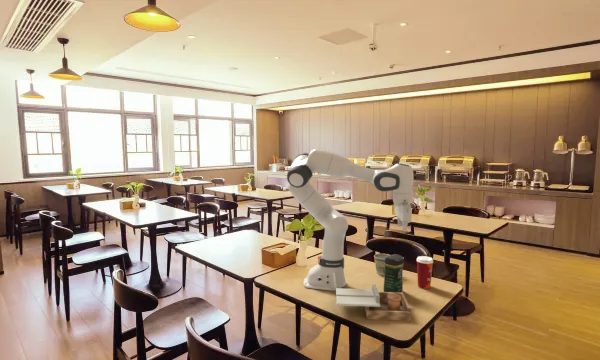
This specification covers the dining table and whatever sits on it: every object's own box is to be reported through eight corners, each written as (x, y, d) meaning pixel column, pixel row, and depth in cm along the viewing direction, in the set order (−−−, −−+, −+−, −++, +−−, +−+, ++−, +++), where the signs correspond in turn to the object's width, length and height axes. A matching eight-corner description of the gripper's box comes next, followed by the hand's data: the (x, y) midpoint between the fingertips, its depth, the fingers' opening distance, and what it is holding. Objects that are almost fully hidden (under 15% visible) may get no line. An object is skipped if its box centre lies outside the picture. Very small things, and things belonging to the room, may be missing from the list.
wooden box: (366, 318, 142) (366, 307, 142) (363, 301, 158) (363, 291, 157) (410, 320, 140) (411, 309, 140) (402, 303, 156) (402, 292, 156)
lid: (336, 305, 143) (336, 296, 143) (336, 289, 158) (336, 282, 158) (380, 306, 141) (380, 298, 141) (375, 291, 157) (375, 283, 156)
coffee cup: (433, 290, 170) (435, 261, 168) (416, 289, 172) (417, 260, 170) (431, 283, 178) (431, 256, 177) (414, 282, 180) (415, 255, 178)
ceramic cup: (371, 274, 191) (371, 257, 190) (377, 269, 200) (377, 252, 199) (394, 279, 185) (394, 261, 184) (399, 273, 193) (399, 256, 192)
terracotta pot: (401, 313, 146) (402, 299, 145) (388, 312, 146) (388, 299, 146) (399, 306, 151) (399, 293, 151) (386, 305, 152) (386, 293, 151)
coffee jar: (395, 297, 162) (396, 259, 160) (381, 292, 168) (381, 256, 166) (405, 291, 169) (406, 255, 167) (391, 286, 175) (391, 251, 173)
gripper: (415, 202, 146) (414, 233, 147) (405, 195, 166) (404, 223, 168) (400, 202, 147) (399, 233, 148) (391, 195, 167) (391, 223, 168)
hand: (402, 227), depth 158 cm, fingers open, 8 cm apart
